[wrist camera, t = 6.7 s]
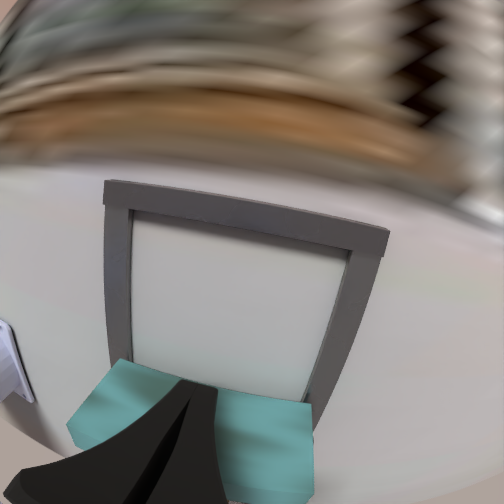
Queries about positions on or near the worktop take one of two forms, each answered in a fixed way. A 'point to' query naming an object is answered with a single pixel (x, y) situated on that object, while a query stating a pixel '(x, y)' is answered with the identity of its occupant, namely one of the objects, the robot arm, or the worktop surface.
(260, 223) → the dark grey flat frame
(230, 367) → the worktop surface
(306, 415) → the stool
